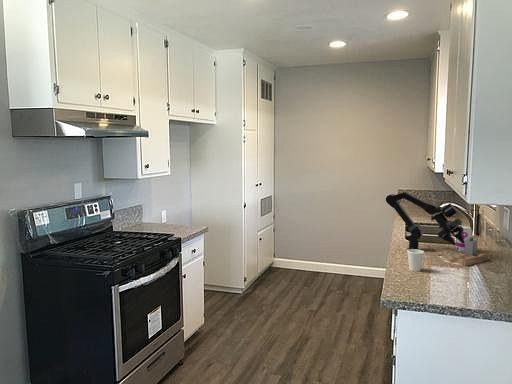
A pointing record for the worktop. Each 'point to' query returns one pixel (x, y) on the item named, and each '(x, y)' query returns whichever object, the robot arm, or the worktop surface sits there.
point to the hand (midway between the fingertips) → (459, 243)
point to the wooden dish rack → (466, 259)
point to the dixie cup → (415, 259)
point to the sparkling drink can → (466, 234)
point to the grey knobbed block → (471, 247)
